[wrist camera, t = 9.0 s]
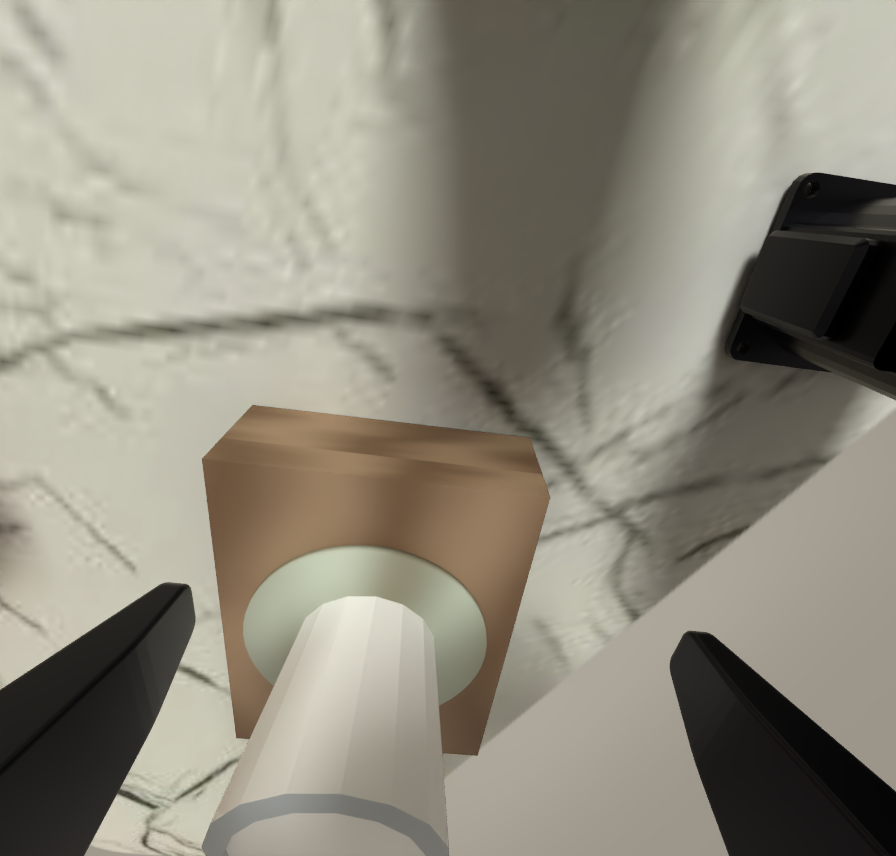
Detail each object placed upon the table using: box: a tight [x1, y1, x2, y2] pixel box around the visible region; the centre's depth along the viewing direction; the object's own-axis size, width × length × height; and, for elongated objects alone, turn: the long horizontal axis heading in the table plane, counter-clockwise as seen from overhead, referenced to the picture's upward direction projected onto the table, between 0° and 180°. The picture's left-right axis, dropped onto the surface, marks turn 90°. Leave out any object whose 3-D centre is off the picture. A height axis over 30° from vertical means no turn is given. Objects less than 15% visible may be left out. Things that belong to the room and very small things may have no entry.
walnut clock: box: [202, 405, 550, 756], centre depth 21 cm, size 12×16×5 cm
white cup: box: [202, 596, 449, 856], centre depth 16 cm, size 7×7×7 cm
